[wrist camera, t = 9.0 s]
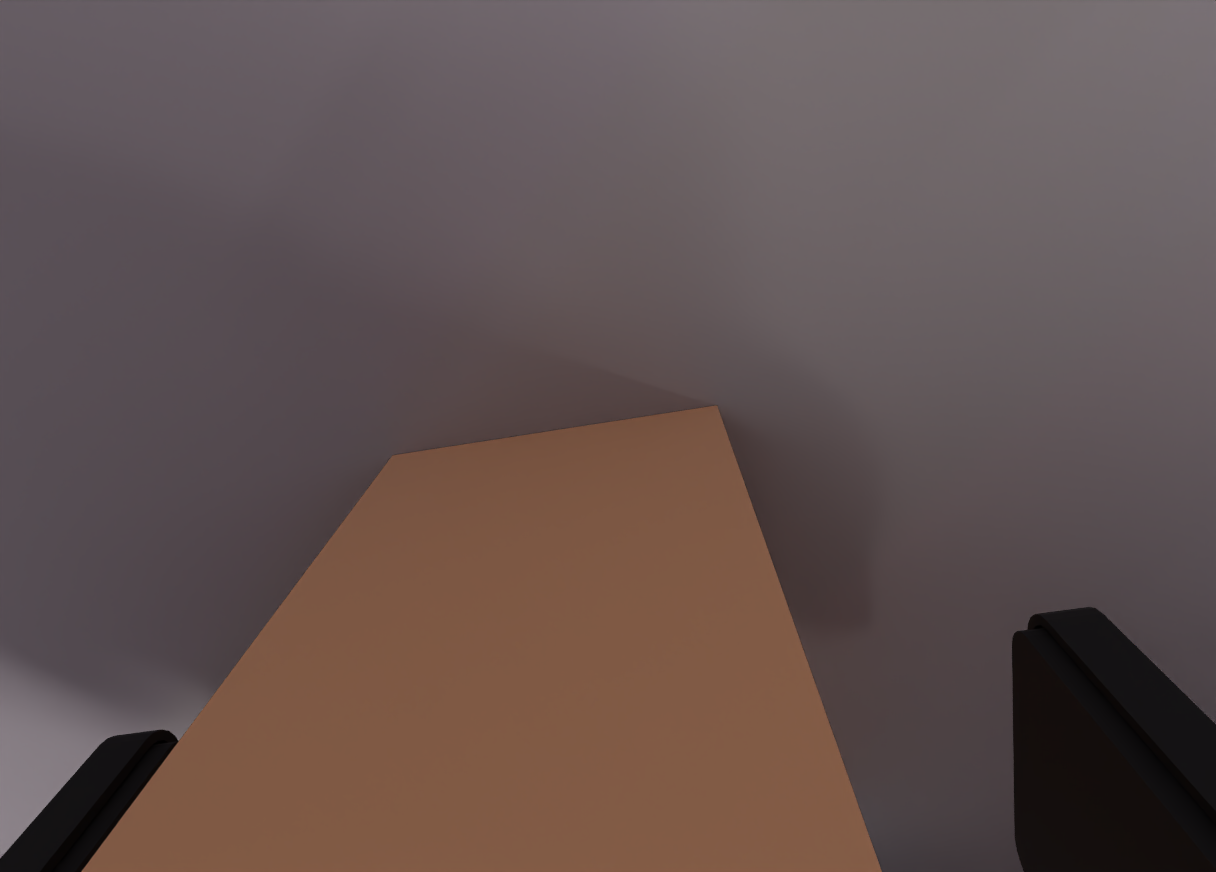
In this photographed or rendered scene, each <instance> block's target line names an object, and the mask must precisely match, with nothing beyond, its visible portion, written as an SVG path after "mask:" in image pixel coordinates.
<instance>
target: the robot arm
mask: <svg viewBox="0 0 1216 872" xmlns="http://www.w3.org/2000/svg"><path fill="white" fill-rule="evenodd" d="M1012 672H1013V747H1014V821H1015V842H1016V847H1017V852H1018V855H1019V859H1020V862H1021V865H1022V867H1023V870H1024V872H1216V724H1215V723H1214V722H1213V721H1212V720H1211V719H1210V718H1209V717H1208V716H1206V715H1205V714H1204V713H1203V712H1202V711H1201V710H1200V709H1199V708H1198V707H1197V706H1196V705H1195V704H1194V703H1193V702H1192V701H1191V700H1190V699H1189V698H1188V697H1187V696H1186V695H1185V694H1184V693H1183V692H1182V691H1181V690H1180V689H1179V688H1178V687H1177V686H1176V685H1175V684H1174V683H1173V682H1172V681H1171V680H1170V679H1169V678H1168V677H1167V676H1166V675H1165V674H1164V673H1163V672H1162V671H1161V670H1160V669H1159V668H1158V667H1157V666H1156V665H1154V664H1153V663H1152V662H1151V661H1150V660H1149V659H1148V658H1147V657H1146V656H1145V655H1144V654H1143V653H1142V652H1141V651H1140V650H1139V649H1138V648H1137V647H1136V646H1135V645H1134V644H1133V643H1132V642H1131V641H1130V640H1129V639H1128V638H1127V637H1126V636H1125V635H1124V634H1123V633H1122V632H1121V631H1120V630H1119V629H1118V628H1117V627H1116V626H1115V625H1114V624H1113V623H1112V622H1111V621H1110V620H1109V619H1108V618H1107V617H1106V616H1105V615H1104V614H1103V613H1101V612H1100V611H1098V610H1097V609H1096V608H1091V607H1086V608H1078V609H1071V610H1063V611H1055V612H1048V613H1040V614H1035V615H1033V616H1032V617H1031V618H1030V620H1029V623H1028V630H1024V631H1017V632H1016V633H1015V634H1014V636H1013V641H1012ZM178 742H179V741H178V740H177V738H176V737H175V735H173V734H172V733H171V732H170V731H166V730H155V731H147V732H140V733H132V734H125V735H117V736H113V737H110V738H108V739H106V740H105V741H104V742H103V743H102V744H100V745H99V747H98V748H97V749H96V750H95V751H94V752H93V753H92V755H91V756H90V757H89V758H88V759H87V760H86V761H85V762H84V764H83V765H82V766H81V767H80V768H79V769H78V770H77V772H76V773H75V774H74V775H73V776H72V777H71V778H70V780H69V781H68V782H67V783H66V784H65V785H64V786H63V788H62V789H61V790H60V791H59V792H58V793H57V794H56V796H55V797H54V798H53V799H52V800H51V801H50V802H49V804H48V805H47V806H46V807H45V808H44V809H43V810H42V812H41V813H40V814H39V815H38V816H37V817H36V818H35V820H34V821H33V822H32V823H31V824H30V825H29V826H28V828H27V829H26V830H25V831H24V832H23V833H22V834H21V836H20V837H19V838H18V839H17V840H16V841H15V842H14V844H13V845H12V846H11V847H10V848H9V849H8V850H7V852H6V853H5V854H4V855H3V856H2V857H1V858H0V872H82V870H83V869H84V868H85V866H86V865H87V864H88V862H89V861H90V860H91V858H92V857H93V856H94V854H95V853H96V852H97V850H98V849H99V847H100V846H101V845H102V843H103V842H104V841H105V839H106V838H107V837H108V835H109V834H110V833H111V831H112V830H113V829H114V827H115V826H116V825H117V823H118V822H119V821H120V819H121V818H122V817H123V815H124V814H125V813H126V811H127V810H128V809H129V807H130V806H131V805H132V803H133V802H134V801H135V799H136V798H137V797H138V795H139V794H140V793H141V791H142V790H143V789H144V787H145V786H146V785H147V783H148V782H149V781H150V779H151V778H152V777H153V775H154V774H155V773H156V771H157V770H158V769H159V767H160V766H161V765H162V763H163V762H164V760H165V759H166V758H167V756H168V755H169V754H170V752H171V751H172V750H173V748H174V747H175V746H176V744H177V743H178Z"/></svg>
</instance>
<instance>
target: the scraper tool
mask: <svg viewBox="0 0 1216 872" xmlns="http://www.w3.org/2000/svg"><path fill="white" fill-rule="evenodd" d="M82 872H882V871H881V868H880V865H879V862H878V859H877V856H876V854H875V851H874V848H873V845H872V842H871V840H870V837H869V834H868V831H867V828H866V825H865V823H864V820H863V817H862V814H861V811H860V808H859V806H858V803H857V800H856V797H855V794H854V791H853V789H852V786H851V783H850V780H849V777H848V774H847V772H846V769H845V766H844V763H843V760H842V758H841V755H840V752H839V749H838V746H837V743H836V741H835V738H834V735H833V732H832V729H831V726H830V724H829V721H828V718H827V715H826V712H825V709H824V707H823V704H822V701H821V698H820V695H819V692H818V690H817V687H816V684H815V681H814V678H813V675H812V673H811V670H810V667H809V664H808V661H807V659H806V656H805V653H804V650H803V647H802V644H801V642H800V639H799V636H798V633H797V630H796V627H795V625H794V622H793V619H792V616H791V613H790V610H789V608H788V605H787V602H786V599H785V596H784V593H783V591H782V588H781V585H780V582H779V579H778V576H777V574H776V571H775V568H774V565H773V562H772V560H771V557H770V554H769V551H768V548H767V545H766V543H765V540H764V537H763V534H762V531H761V528H760V526H759V523H758V520H757V517H756V514H755V511H754V509H753V506H752V503H751V500H750V497H749V494H748V492H747V489H746V486H745V483H744V480H743V477H742V475H741V472H740V469H739V466H738V463H737V461H736V458H735V455H734V452H733V449H732V446H731V444H730V441H729V438H728V435H727V432H726V429H725V427H724V424H723V421H722V418H721V415H720V412H719V410H718V407H717V405H715V406H709V407H702V408H696V409H689V410H683V411H676V412H670V413H663V414H657V415H650V416H644V417H637V418H631V419H625V420H618V421H612V422H605V423H599V424H592V425H586V426H579V427H573V428H566V429H560V430H553V431H547V432H540V433H534V434H527V435H521V436H514V437H508V438H501V439H495V440H488V441H482V442H475V443H469V444H463V445H456V446H450V447H443V448H437V449H430V450H424V451H417V452H411V453H404V454H398V455H392V457H391V458H390V459H389V461H388V462H387V463H386V465H385V466H384V467H383V469H382V470H381V471H380V473H379V474H378V475H377V477H376V478H375V479H374V481H373V482H372V483H371V485H370V486H369V487H368V489H367V490H366V491H365V493H364V494H363V495H362V497H361V498H360V500H359V501H358V502H357V504H356V505H355V506H354V508H353V509H352V510H351V512H350V513H349V514H348V516H347V517H346V518H345V520H344V521H343V522H342V524H341V525H340V526H339V528H338V529H337V530H336V532H335V533H334V534H333V536H332V537H331V538H330V540H329V541H328V542H327V544H326V545H325V546H324V548H323V549H322V550H321V552H320V553H319V554H318V556H317V557H316V558H315V560H314V561H313V562H312V564H311V565H310V566H309V568H308V569H307V570H306V572H305V573H304V574H303V576H302V577H301V578H300V580H299V581H298V582H297V584H296V585H295V586H294V588H293V589H292V591H291V592H290V593H289V595H288V596H287V597H286V599H285V600H284V601H283V603H282V604H281V605H280V607H279V608H278V609H277V611H276V612H275V613H274V615H273V616H272V617H271V619H270V620H269V621H268V623H267V624H266V625H265V627H264V628H263V629H262V631H261V632H260V633H259V635H258V636H257V637H256V639H255V640H254V641H253V643H252V644H251V645H250V647H249V648H248V649H247V651H246V652H245V653H244V655H243V656H242V657H241V659H240V660H239V661H238V663H237V664H236V665H235V667H234V668H233V669H232V671H231V672H230V673H229V675H228V676H227V678H226V679H225V680H224V682H223V683H222V684H221V686H220V687H219V688H218V690H217V691H216V692H215V694H214V695H213V696H212V698H211V699H210V700H209V702H208V703H207V704H206V706H205V707H204V708H203V710H202V711H201V712H200V714H199V715H198V716H197V718H196V719H195V720H194V722H193V723H192V724H191V726H190V727H189V728H188V730H187V731H186V732H185V734H184V735H183V736H182V738H181V739H180V740H179V742H178V743H177V744H176V746H175V747H174V748H173V750H172V751H171V752H170V754H169V755H168V756H167V758H166V759H165V760H164V762H163V763H162V765H161V766H160V767H159V769H158V770H157V771H156V773H155V774H154V775H153V777H152V778H151V779H150V781H149V782H148V783H147V785H146V786H145V787H144V789H143V790H142V791H141V793H140V794H139V795H138V797H137V798H136V799H135V801H134V802H133V803H132V805H131V806H130V807H129V809H128V810H127V811H126V813H125V814H124V815H123V817H122V818H121V819H120V821H119V822H118V823H117V825H116V826H115V827H114V829H113V830H112V831H111V833H110V834H109V835H108V837H107V838H106V839H105V841H104V842H103V843H102V845H101V846H100V847H99V849H98V850H97V852H96V853H95V854H94V856H93V857H92V858H91V860H90V861H89V862H88V864H87V865H86V866H85V868H84V869H83V870H82Z"/></svg>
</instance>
